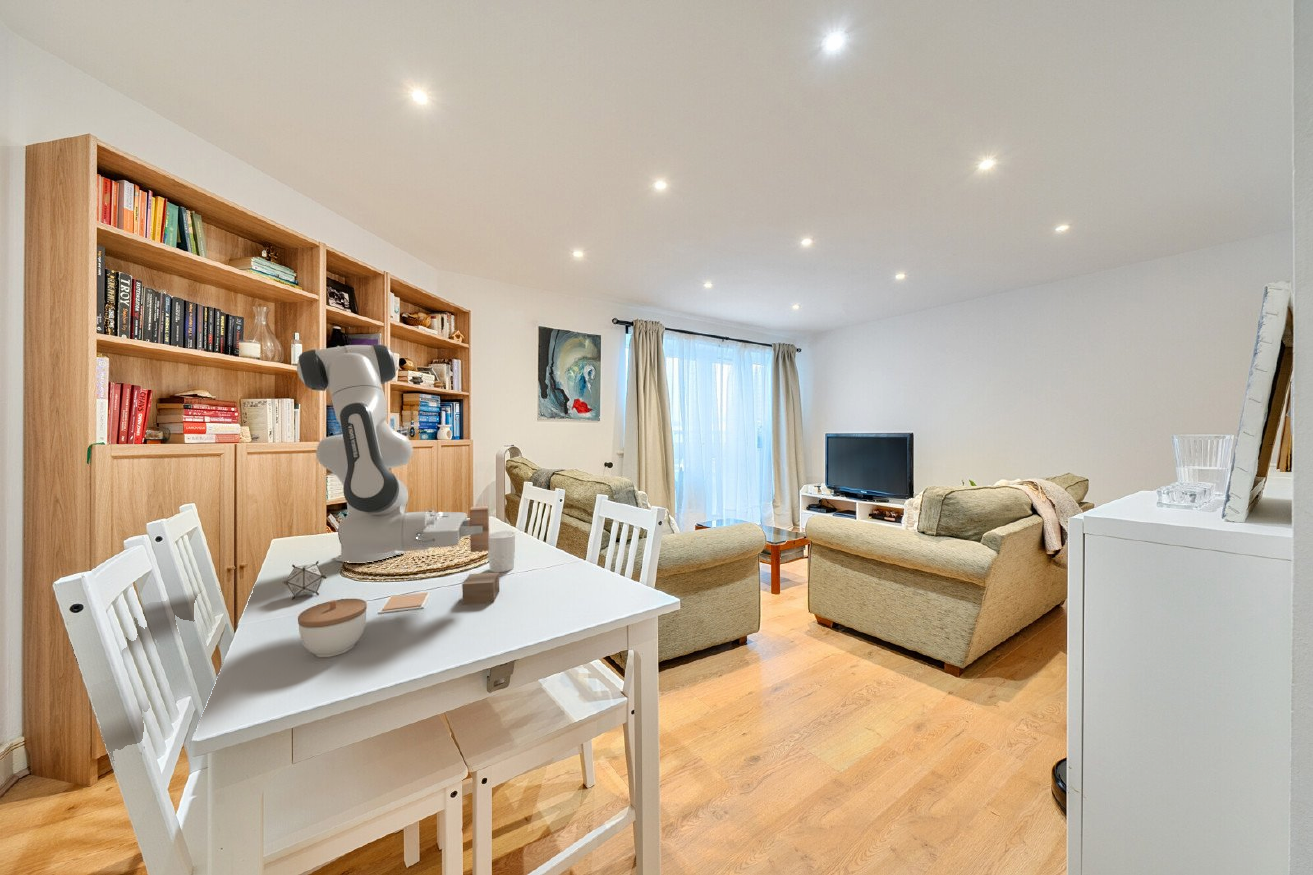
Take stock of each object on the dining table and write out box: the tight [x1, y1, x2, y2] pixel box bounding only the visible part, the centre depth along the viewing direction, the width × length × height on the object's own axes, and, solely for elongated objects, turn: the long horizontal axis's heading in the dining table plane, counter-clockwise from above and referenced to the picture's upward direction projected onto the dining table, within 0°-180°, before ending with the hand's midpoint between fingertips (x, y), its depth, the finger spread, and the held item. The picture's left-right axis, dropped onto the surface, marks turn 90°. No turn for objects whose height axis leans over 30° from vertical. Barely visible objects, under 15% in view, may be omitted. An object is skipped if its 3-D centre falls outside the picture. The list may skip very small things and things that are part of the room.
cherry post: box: [469, 505, 490, 553], centre depth 112 cm, size 4×4×10 cm
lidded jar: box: [297, 598, 368, 658], centre depth 88 cm, size 11×11×9 cm
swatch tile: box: [378, 592, 432, 614], centre depth 109 cm, size 9×9×1 cm
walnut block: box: [461, 572, 500, 605], centre depth 112 cm, size 7×7×5 cm
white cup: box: [487, 530, 516, 573], centre depth 133 cm, size 8×8×10 cm
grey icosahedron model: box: [281, 560, 328, 601], centre depth 115 cm, size 9×8×10 cm
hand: (483, 526), depth 112 cm, fingers closed on cherry post, 4 cm apart
